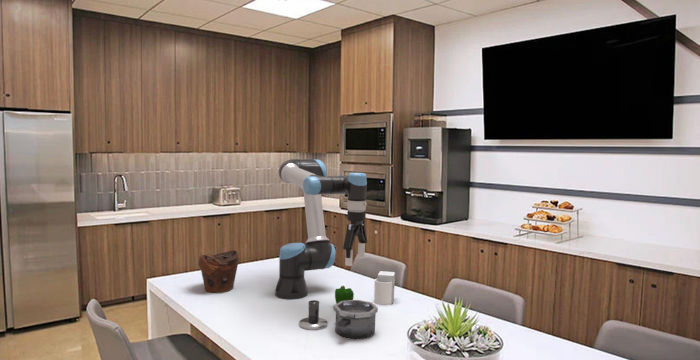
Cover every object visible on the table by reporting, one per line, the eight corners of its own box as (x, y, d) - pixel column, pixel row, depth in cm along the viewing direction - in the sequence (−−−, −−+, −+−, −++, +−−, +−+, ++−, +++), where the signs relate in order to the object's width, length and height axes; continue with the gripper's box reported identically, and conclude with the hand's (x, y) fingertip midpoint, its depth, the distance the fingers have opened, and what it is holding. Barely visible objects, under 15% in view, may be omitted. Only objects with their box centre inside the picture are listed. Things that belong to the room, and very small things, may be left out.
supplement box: (392, 303, 212) (393, 276, 211) (376, 302, 214) (377, 274, 213) (394, 298, 219) (395, 271, 218) (378, 297, 221) (379, 270, 220)
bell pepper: (343, 302, 212) (344, 280, 211) (357, 307, 206) (357, 285, 205) (329, 306, 206) (330, 284, 205) (343, 312, 200) (343, 288, 200)
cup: (400, 299, 218) (400, 278, 218) (385, 306, 209) (386, 283, 208) (385, 296, 223) (385, 275, 222) (370, 302, 214) (371, 280, 213)
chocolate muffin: (188, 291, 221) (189, 253, 220) (216, 281, 240) (216, 246, 239) (220, 298, 215) (221, 258, 213) (245, 286, 233) (246, 250, 232)
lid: (293, 327, 182) (294, 303, 182) (308, 318, 192) (308, 295, 192) (318, 332, 178) (319, 308, 177) (332, 323, 188) (333, 300, 187)
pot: (321, 338, 172) (322, 312, 171) (350, 317, 194) (350, 294, 193) (360, 347, 166) (361, 320, 165) (385, 324, 187) (386, 301, 186)
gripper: (353, 215, 181) (352, 270, 183) (375, 208, 204) (373, 256, 206) (335, 213, 184) (334, 267, 185) (359, 206, 207) (357, 254, 208)
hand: (355, 262), depth 196 cm, fingers open, 13 cm apart
